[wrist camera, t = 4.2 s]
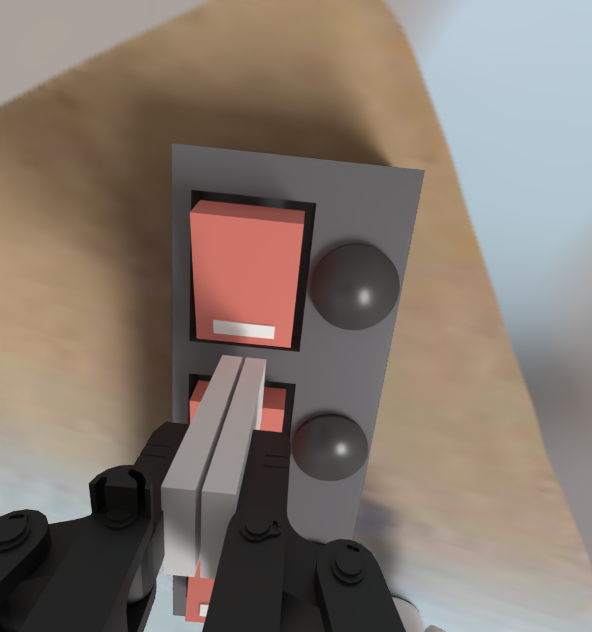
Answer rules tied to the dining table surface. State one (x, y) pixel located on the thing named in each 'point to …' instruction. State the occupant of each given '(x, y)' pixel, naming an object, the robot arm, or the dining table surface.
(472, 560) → the dining table surface
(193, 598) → the rocker
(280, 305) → the rocker
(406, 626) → the mug
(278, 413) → the rocker
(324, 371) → the switch panel
